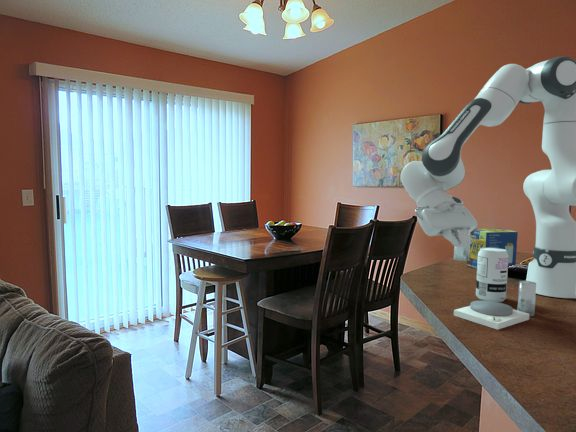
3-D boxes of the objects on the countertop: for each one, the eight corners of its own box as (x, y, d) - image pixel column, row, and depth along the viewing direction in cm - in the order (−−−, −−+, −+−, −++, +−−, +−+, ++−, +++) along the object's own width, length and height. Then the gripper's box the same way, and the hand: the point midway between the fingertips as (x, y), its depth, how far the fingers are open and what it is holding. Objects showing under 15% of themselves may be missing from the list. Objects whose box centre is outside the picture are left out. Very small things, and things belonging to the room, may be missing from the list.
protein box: (465, 266, 172) (467, 228, 171) (496, 264, 176) (498, 228, 175) (483, 271, 162) (485, 232, 161) (516, 269, 166) (518, 231, 165)
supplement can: (479, 293, 130) (482, 246, 129) (508, 298, 125) (511, 249, 124) (472, 299, 124) (474, 249, 123) (502, 304, 119) (505, 252, 118)
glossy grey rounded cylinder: (459, 257, 120) (460, 228, 119) (472, 260, 116) (473, 229, 115) (450, 259, 117) (452, 229, 117) (463, 261, 114) (464, 230, 113)
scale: (485, 307, 117) (485, 298, 116) (529, 319, 106) (529, 309, 106) (453, 315, 109) (454, 306, 109) (497, 329, 99) (498, 319, 99)
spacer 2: (522, 310, 114) (524, 280, 113) (537, 314, 111) (539, 283, 110) (514, 312, 112) (515, 281, 111) (529, 317, 108) (531, 285, 108)
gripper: (418, 200, 116) (447, 239, 108) (464, 198, 126) (493, 234, 119) (405, 214, 120) (432, 253, 112) (451, 212, 131) (478, 247, 123)
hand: (464, 244), depth 116 cm, fingers closed on glossy grey rounded cylinder, 4 cm apart
